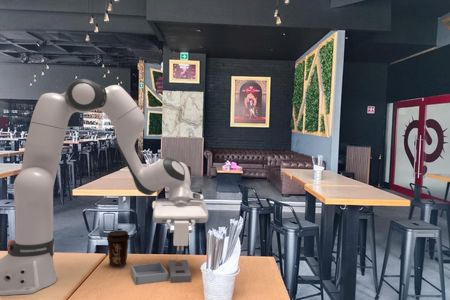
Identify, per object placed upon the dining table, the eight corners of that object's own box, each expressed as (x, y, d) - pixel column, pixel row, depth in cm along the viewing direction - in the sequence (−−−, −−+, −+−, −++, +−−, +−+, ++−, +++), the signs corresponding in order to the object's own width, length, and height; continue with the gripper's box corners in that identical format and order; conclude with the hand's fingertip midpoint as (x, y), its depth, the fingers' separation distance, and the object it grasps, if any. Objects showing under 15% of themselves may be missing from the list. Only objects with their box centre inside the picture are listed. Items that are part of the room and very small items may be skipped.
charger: (173, 252, 123) (174, 223, 123) (172, 248, 127) (174, 220, 126) (187, 251, 124) (189, 223, 124) (186, 248, 128) (188, 220, 127)
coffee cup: (106, 262, 139) (107, 229, 138) (128, 261, 141) (129, 229, 141) (106, 270, 130) (107, 236, 130) (129, 269, 133) (130, 234, 133)
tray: (136, 285, 119) (136, 276, 118) (130, 273, 129) (131, 265, 128) (168, 281, 123) (168, 272, 123) (160, 270, 133) (160, 262, 133)
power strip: (191, 282, 123) (191, 273, 123) (170, 283, 121) (171, 274, 121) (186, 266, 138) (186, 258, 138) (168, 266, 137) (168, 258, 137)
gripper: (152, 194, 130) (151, 227, 120) (207, 195, 134) (210, 227, 125) (151, 204, 134) (151, 237, 125) (205, 204, 138) (208, 236, 129)
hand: (181, 232), depth 125 cm, fingers closed on charger, 5 cm apart
